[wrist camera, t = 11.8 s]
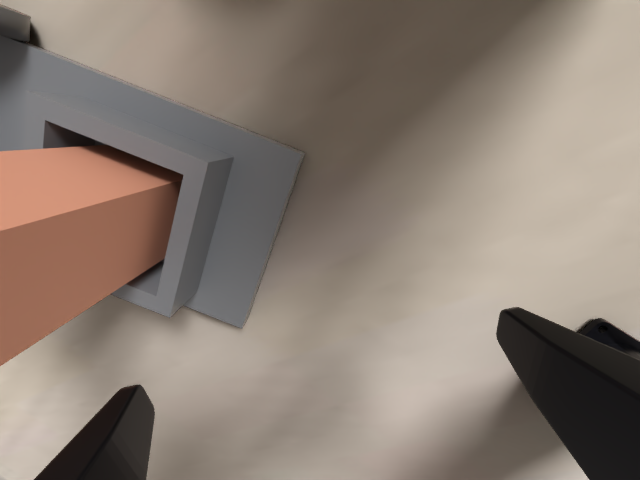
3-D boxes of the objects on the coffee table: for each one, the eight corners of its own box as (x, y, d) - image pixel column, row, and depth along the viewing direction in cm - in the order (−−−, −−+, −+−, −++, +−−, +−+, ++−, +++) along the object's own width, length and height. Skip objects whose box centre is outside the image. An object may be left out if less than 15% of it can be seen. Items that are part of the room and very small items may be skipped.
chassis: (313, 128, 19) (297, 128, 14) (242, 334, 24) (212, 385, 19) (-54, -18, 19) (-196, -68, 14) (-49, 220, 24) (-151, 243, 19)
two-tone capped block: (192, 177, 19) (-201, 287, 6) (174, 251, 21) (-163, 472, 7) (111, 144, 19) (-474, 180, 6) (99, 222, 21) (-374, 390, 7)
